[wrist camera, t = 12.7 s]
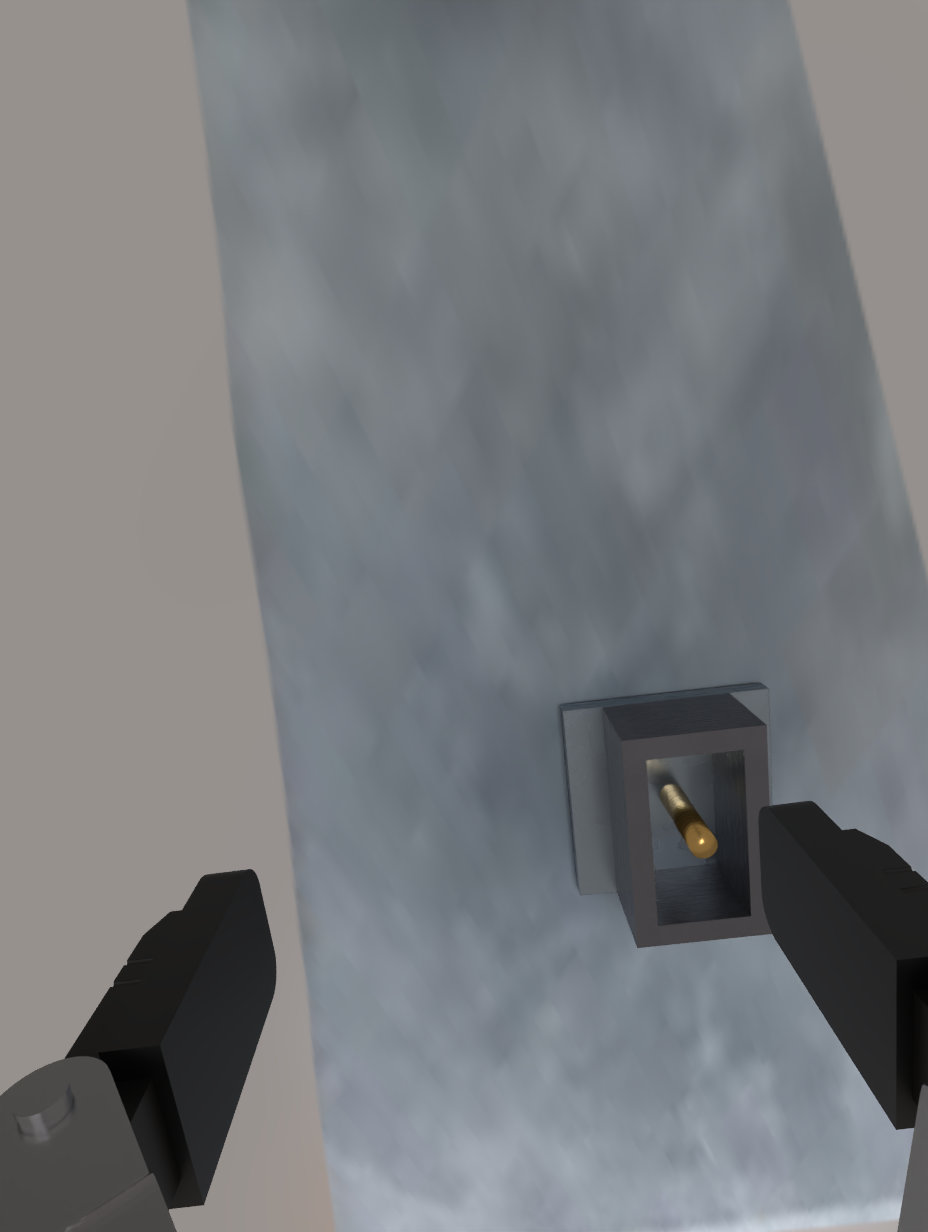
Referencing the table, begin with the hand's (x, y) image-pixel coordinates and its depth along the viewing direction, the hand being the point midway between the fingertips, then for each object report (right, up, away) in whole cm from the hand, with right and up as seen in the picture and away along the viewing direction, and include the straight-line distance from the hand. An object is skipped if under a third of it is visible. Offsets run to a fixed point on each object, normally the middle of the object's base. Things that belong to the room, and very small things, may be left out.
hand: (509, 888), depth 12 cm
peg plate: (+10, -4, +26) cm, 28 cm away
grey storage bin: (+10, -5, +25) cm, 27 cm away
